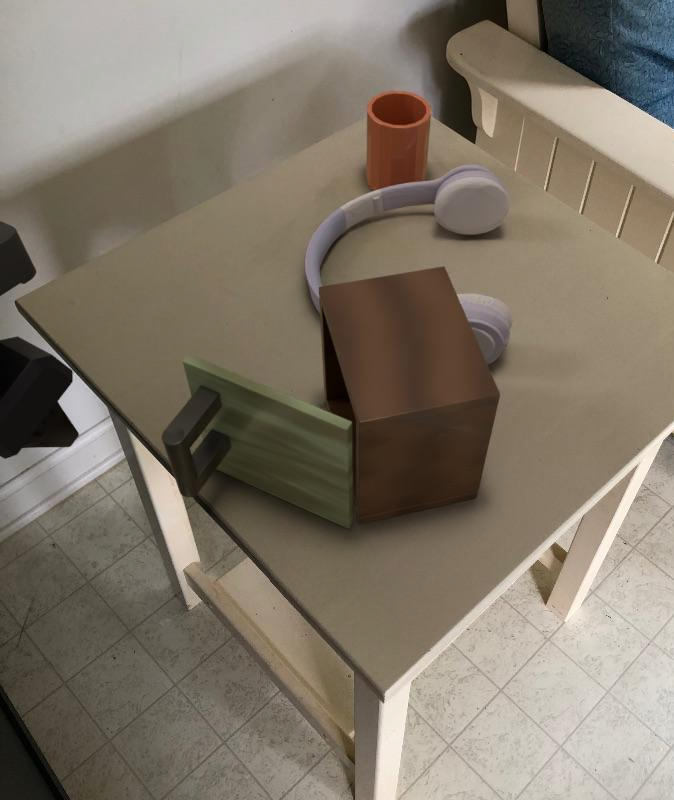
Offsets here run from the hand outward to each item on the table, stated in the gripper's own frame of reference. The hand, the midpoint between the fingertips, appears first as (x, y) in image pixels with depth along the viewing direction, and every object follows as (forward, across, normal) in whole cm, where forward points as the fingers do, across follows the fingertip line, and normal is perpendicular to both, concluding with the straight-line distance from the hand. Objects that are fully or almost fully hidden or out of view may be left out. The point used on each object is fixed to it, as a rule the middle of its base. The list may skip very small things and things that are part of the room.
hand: (32, 415), depth 58 cm
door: (+15, -11, -3) cm, 19 cm away
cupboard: (+20, -16, -14) cm, 29 cm away
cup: (+25, +5, -43) cm, 50 cm away
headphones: (+23, -5, -31) cm, 39 cm away
